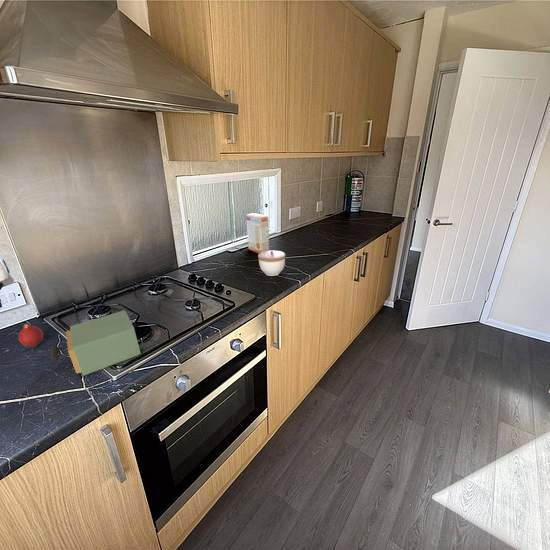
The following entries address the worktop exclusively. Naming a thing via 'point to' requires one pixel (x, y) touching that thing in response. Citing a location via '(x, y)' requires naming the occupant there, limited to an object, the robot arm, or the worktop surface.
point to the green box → (104, 342)
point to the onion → (30, 336)
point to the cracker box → (257, 232)
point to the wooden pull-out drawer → (71, 353)
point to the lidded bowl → (272, 262)
